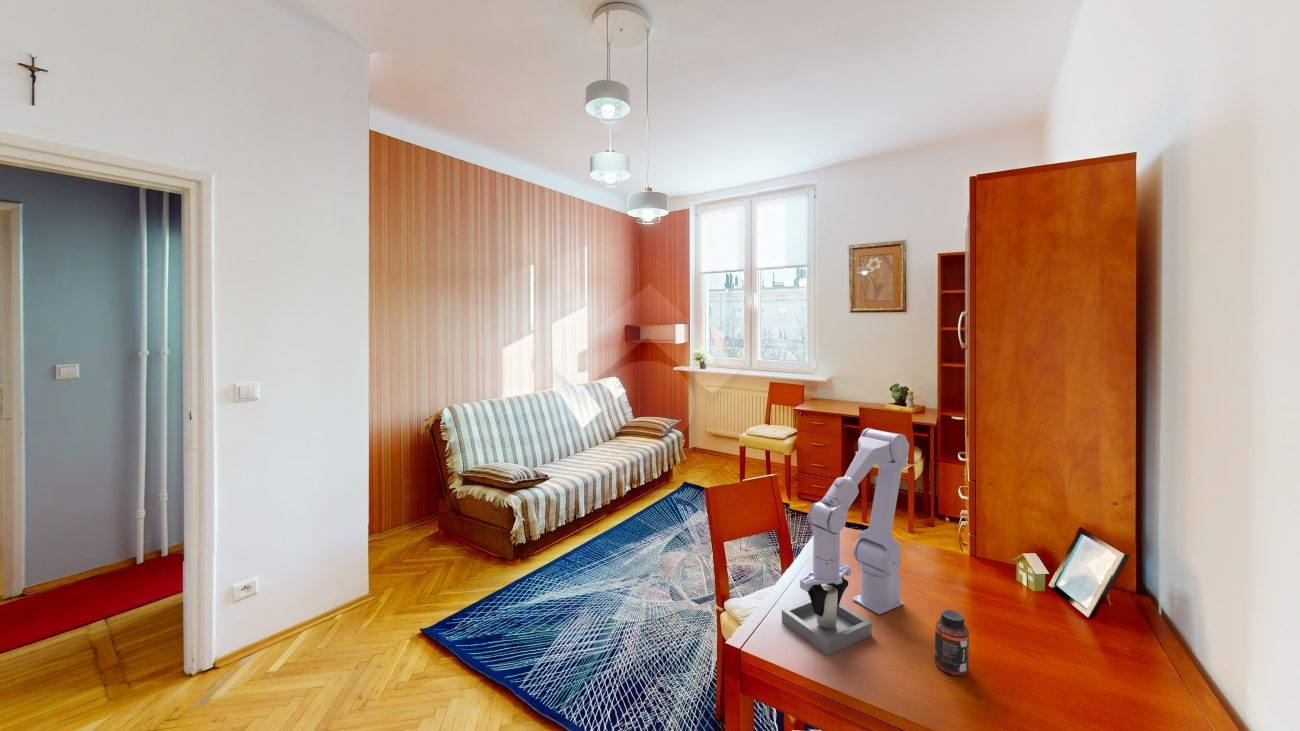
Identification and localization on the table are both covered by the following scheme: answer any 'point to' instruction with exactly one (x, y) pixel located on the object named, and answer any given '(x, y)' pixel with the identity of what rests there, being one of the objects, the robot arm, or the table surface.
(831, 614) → the cup
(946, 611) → the supplement bottle
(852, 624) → the tray
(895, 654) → the table surface
